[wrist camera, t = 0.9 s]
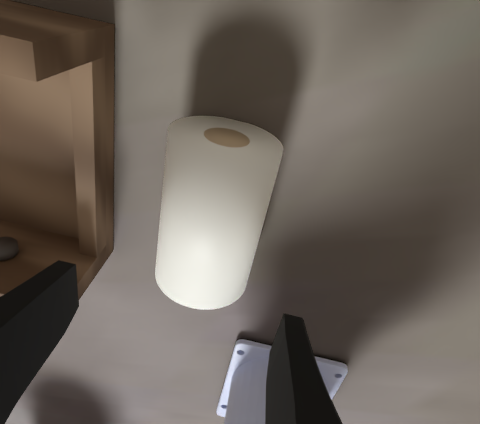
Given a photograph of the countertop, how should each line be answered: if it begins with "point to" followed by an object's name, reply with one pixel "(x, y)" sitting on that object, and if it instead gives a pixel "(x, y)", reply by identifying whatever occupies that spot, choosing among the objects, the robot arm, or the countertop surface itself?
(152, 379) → the countertop surface
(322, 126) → the countertop surface
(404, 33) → the countertop surface
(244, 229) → the roll
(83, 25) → the holder
